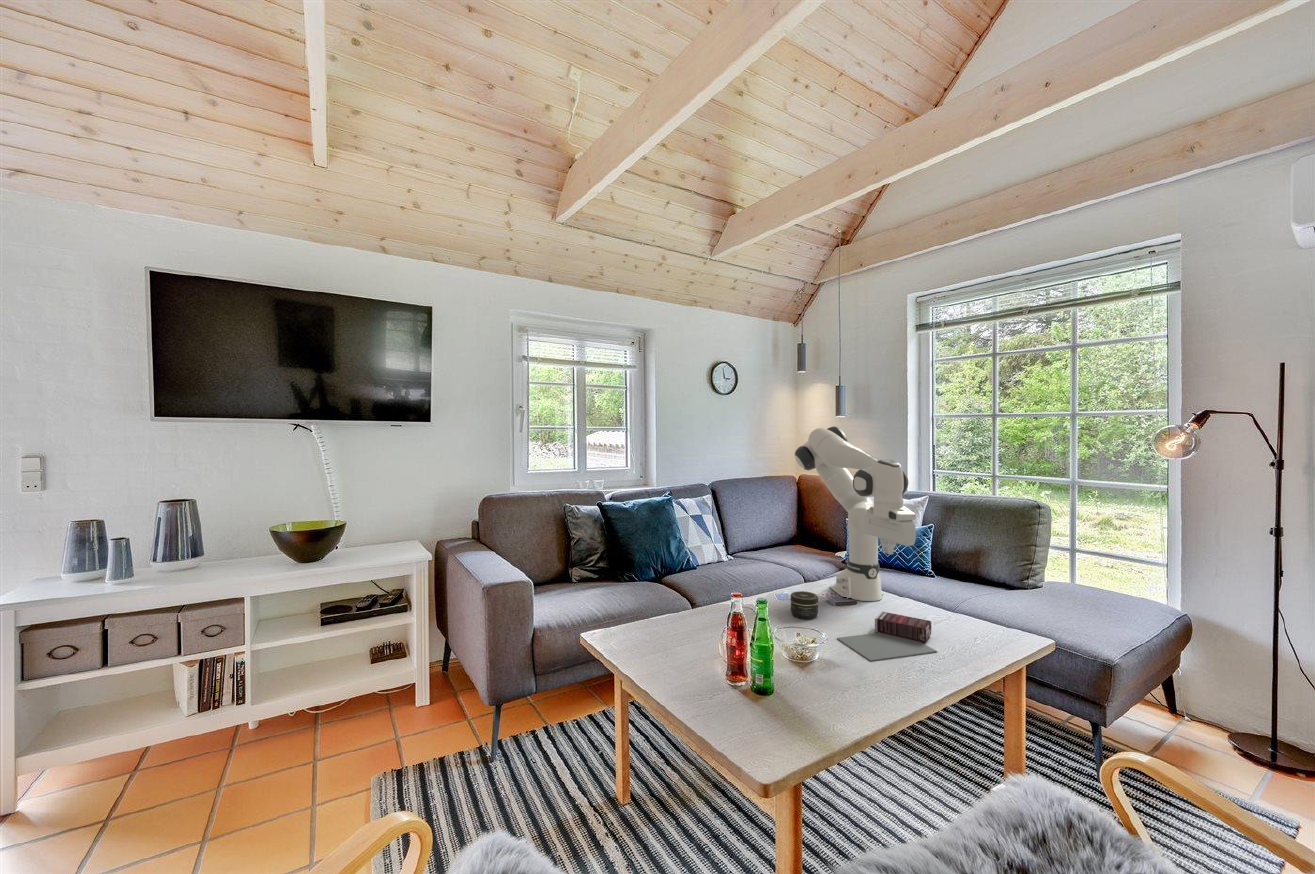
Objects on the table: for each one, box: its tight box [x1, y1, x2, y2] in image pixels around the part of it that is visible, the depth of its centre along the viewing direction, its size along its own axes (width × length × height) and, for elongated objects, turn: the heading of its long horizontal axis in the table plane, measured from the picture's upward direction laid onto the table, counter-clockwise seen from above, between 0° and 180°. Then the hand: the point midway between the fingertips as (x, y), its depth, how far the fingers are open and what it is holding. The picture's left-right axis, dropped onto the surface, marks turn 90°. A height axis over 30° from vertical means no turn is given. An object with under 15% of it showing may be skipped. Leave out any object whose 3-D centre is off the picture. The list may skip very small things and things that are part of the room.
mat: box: [836, 632, 938, 662], centre depth 167 cm, size 17×24×1 cm
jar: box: [790, 590, 819, 621], centre depth 194 cm, size 10×10×8 cm
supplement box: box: [874, 611, 932, 643], centre depth 176 cm, size 9×5×16 cm
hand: (888, 553), depth 168 cm, fingers closed
